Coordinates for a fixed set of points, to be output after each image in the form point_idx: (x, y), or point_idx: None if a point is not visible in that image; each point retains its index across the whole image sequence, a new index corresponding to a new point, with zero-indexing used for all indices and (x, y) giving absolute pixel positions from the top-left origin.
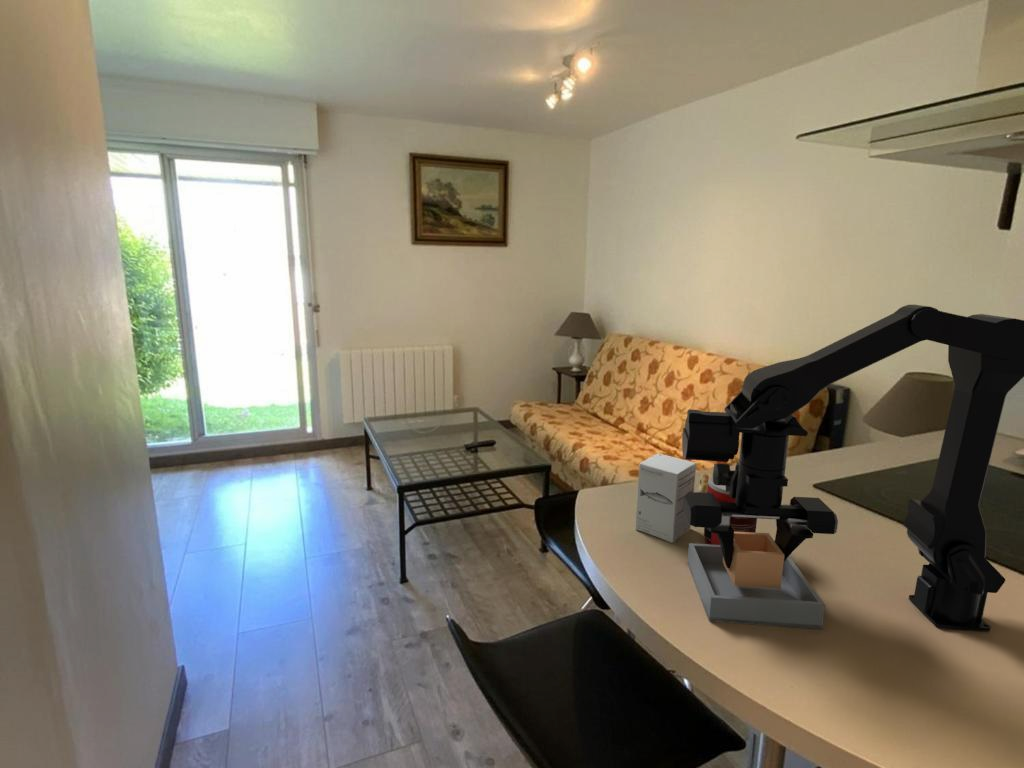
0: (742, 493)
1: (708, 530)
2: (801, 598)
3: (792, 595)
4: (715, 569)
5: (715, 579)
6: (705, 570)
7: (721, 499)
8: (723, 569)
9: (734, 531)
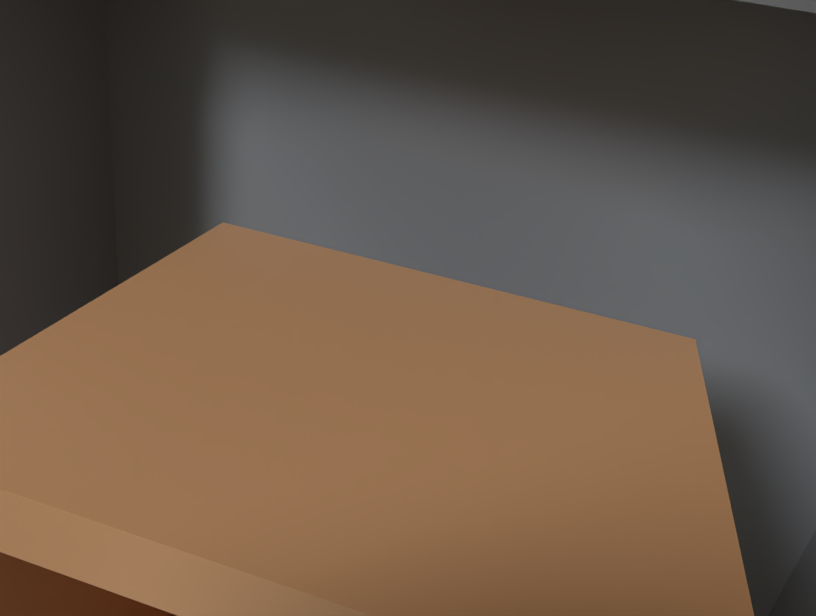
0: None
1: None
2: (798, 591)
3: (780, 503)
4: (287, 41)
5: (238, 207)
6: (193, 50)
7: None
8: (364, 46)
9: (12, 502)
